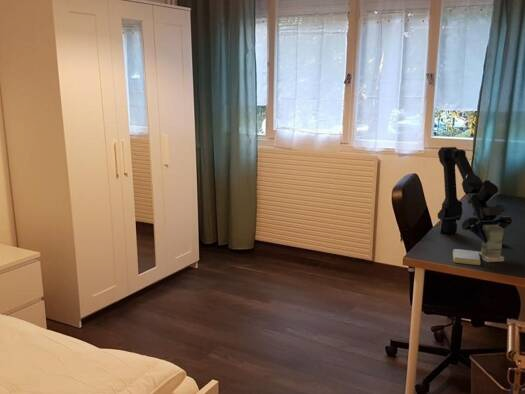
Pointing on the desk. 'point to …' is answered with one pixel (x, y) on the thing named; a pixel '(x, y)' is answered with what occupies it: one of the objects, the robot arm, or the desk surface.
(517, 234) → the desk surface
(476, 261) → the plate
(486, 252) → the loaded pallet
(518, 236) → the desk surface
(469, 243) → the desk surface
